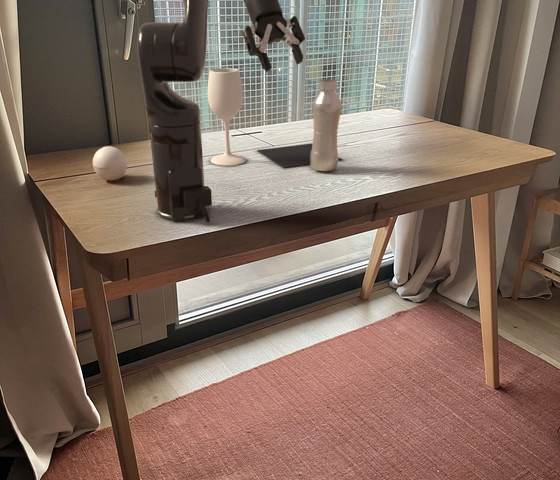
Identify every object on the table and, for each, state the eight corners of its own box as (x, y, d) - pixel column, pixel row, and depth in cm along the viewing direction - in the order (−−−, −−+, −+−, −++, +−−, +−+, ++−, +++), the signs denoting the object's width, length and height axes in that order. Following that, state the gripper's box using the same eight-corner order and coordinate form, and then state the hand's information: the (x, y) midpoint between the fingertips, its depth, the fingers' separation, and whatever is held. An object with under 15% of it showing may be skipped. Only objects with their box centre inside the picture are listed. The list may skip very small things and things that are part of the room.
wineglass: (240, 167, 136) (237, 73, 125) (205, 164, 137) (200, 72, 127) (249, 157, 143) (247, 67, 132) (216, 154, 145) (211, 66, 134)
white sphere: (122, 172, 132) (118, 140, 128) (133, 181, 126) (129, 148, 123) (79, 179, 127) (73, 147, 123) (89, 189, 122) (83, 155, 118)
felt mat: (342, 160, 141) (342, 159, 141) (283, 168, 135) (283, 167, 135) (311, 144, 154) (311, 143, 153) (257, 151, 148) (257, 150, 148)
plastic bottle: (309, 165, 137) (313, 77, 127) (338, 166, 137) (343, 78, 127) (308, 173, 132) (311, 82, 122) (337, 174, 131) (343, 83, 121)
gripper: (238, -5, 127) (264, 66, 128) (292, -15, 132) (316, 53, 133) (228, 12, 133) (253, 79, 135) (280, 2, 139) (303, 66, 140)
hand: (284, 66), depth 134 cm, fingers open, 8 cm apart
